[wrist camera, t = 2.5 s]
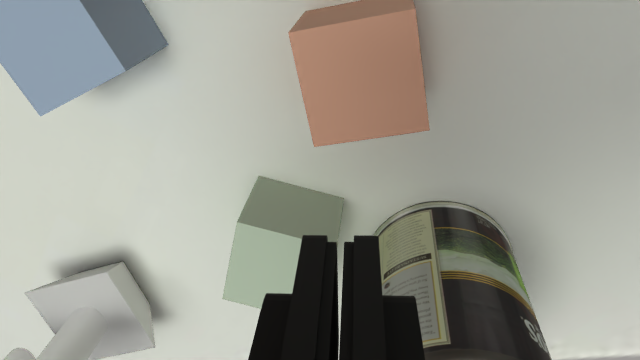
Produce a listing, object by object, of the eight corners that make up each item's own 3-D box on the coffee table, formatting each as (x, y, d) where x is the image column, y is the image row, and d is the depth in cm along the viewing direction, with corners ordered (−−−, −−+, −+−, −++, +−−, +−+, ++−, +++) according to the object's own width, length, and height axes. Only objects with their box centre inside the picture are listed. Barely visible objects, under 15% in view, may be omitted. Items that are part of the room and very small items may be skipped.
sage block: (343, 197, 35) (337, 248, 30) (323, 265, 38) (313, 322, 33) (259, 175, 35) (237, 221, 30) (244, 244, 38) (222, 298, 33)
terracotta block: (409, -10, 29) (415, 8, 23) (422, 93, 31) (429, 130, 26) (305, 10, 30) (288, 32, 25) (325, 108, 32) (314, 146, 27)
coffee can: (509, 190, 33) (582, 354, 21) (515, 311, 38) (578, 507, 26) (353, 208, 35) (335, 369, 23) (376, 322, 40) (371, 508, 27)
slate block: (111, -52, 29) (50, -44, 24) (169, 44, 32) (125, 70, 26) (34, -4, 31) (-37, 13, 26) (95, 83, 33) (40, 116, 28)
